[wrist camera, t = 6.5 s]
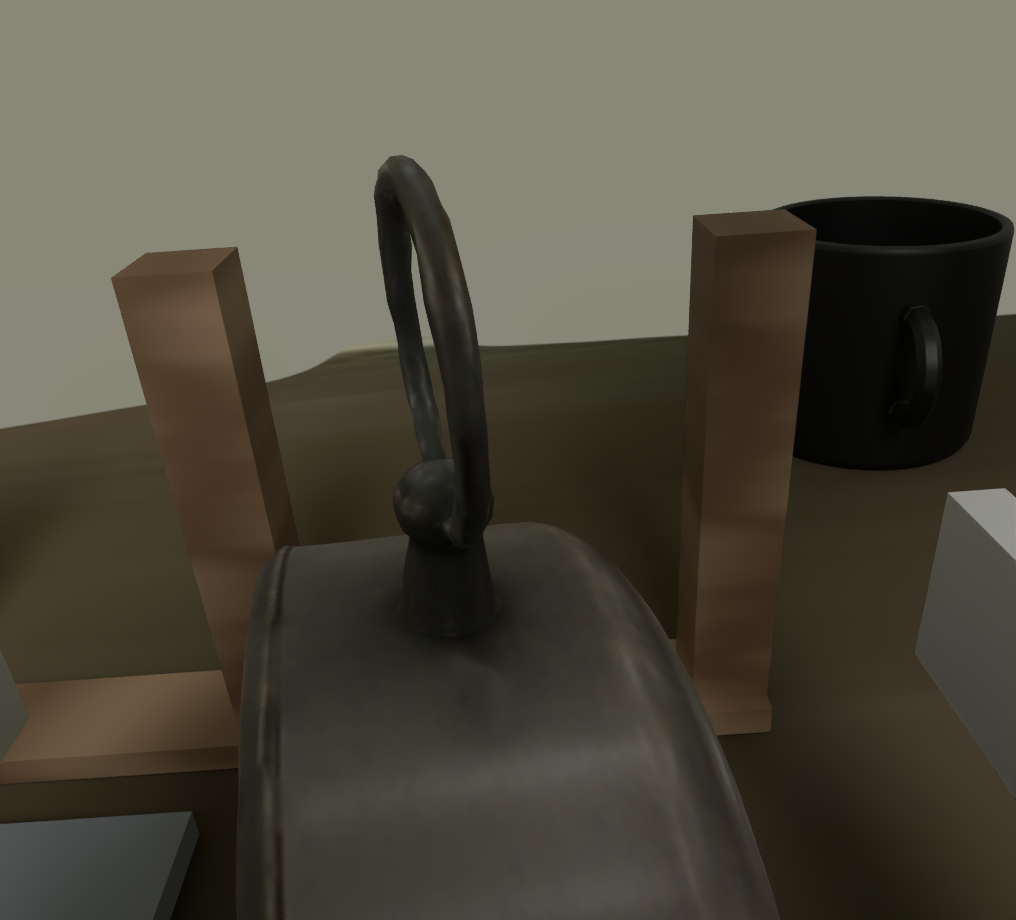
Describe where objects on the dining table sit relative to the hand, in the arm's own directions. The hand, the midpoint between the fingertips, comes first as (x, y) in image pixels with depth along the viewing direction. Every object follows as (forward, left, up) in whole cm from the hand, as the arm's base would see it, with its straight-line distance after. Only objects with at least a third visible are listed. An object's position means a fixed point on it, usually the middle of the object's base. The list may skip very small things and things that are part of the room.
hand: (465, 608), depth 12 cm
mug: (-16, -23, -10) cm, 30 cm away
